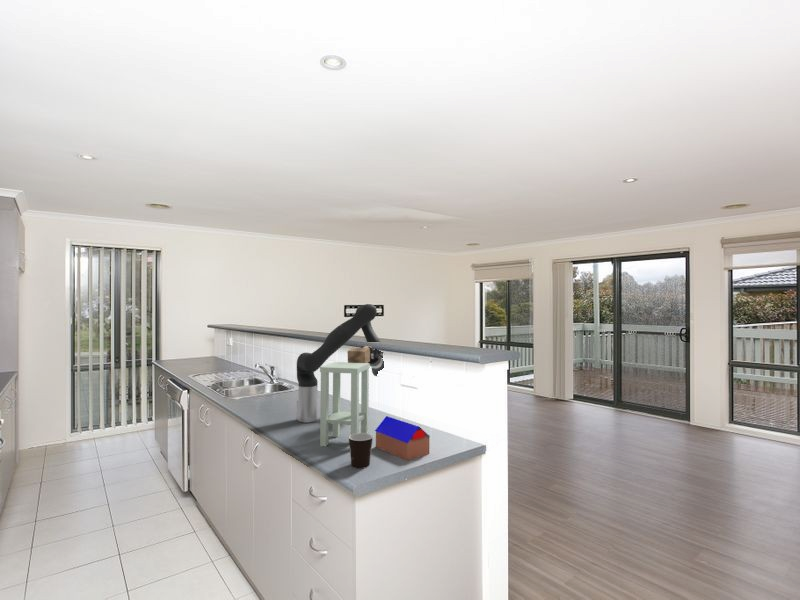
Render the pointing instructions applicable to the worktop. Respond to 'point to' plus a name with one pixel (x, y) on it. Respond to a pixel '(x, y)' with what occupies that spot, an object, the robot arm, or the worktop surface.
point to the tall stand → (337, 415)
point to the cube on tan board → (359, 355)
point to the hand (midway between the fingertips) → (365, 348)
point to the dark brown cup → (360, 449)
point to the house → (402, 438)
